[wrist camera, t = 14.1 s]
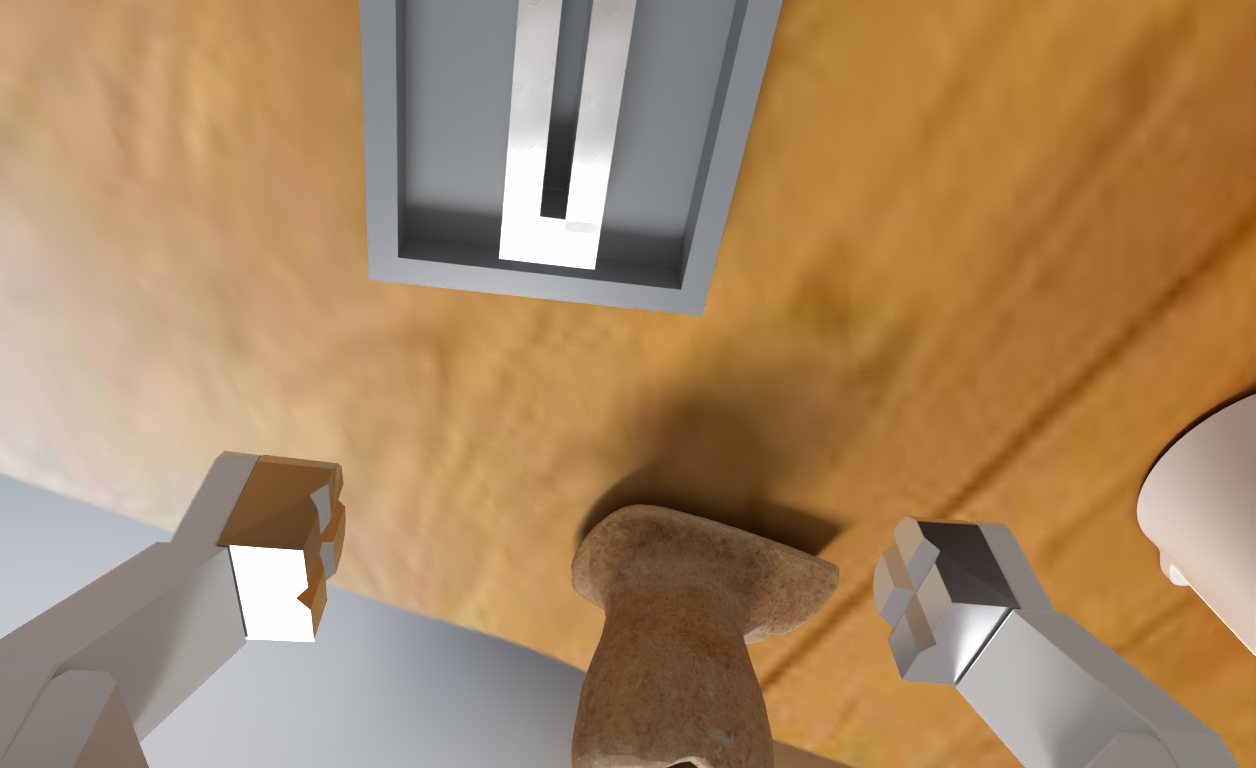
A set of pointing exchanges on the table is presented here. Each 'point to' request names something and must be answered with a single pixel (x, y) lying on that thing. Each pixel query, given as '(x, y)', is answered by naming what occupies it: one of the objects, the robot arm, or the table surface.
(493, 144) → the utensil tray
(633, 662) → the stone cup
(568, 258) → the steel tongs
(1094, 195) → the table surface
